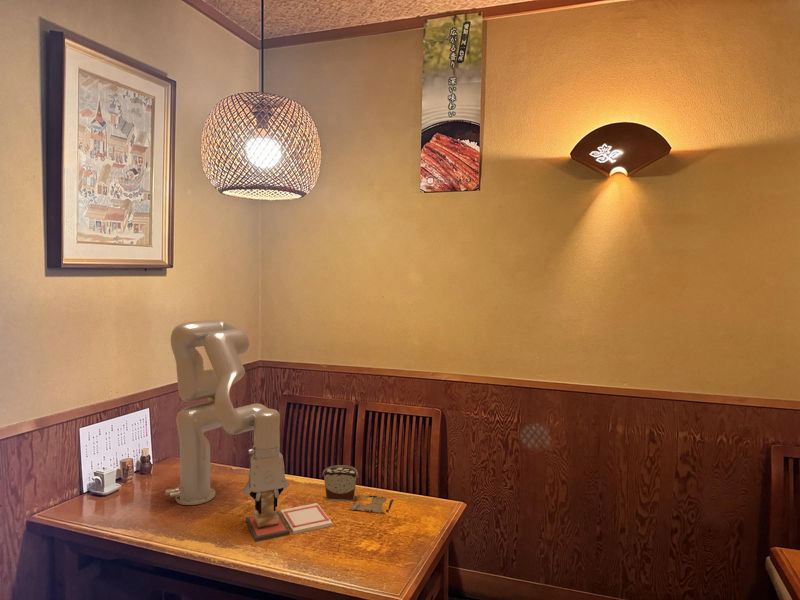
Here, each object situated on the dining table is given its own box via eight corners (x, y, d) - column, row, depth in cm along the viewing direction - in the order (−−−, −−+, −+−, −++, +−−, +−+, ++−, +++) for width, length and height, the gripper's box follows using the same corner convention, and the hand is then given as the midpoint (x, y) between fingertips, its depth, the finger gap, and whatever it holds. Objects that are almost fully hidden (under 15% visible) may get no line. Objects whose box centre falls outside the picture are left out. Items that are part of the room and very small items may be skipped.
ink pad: (255, 541, 153) (255, 537, 153) (245, 520, 166) (245, 517, 166) (289, 534, 158) (289, 530, 158) (278, 514, 170) (277, 510, 170)
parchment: (387, 515, 171) (387, 512, 171) (348, 511, 174) (348, 508, 174) (395, 499, 183) (395, 496, 183) (358, 495, 186) (358, 493, 186)
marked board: (293, 534, 158) (293, 530, 158) (280, 513, 171) (280, 509, 171) (332, 525, 163) (332, 522, 163) (316, 506, 177) (316, 502, 177)
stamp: (258, 528, 158) (258, 491, 157) (254, 519, 163) (254, 483, 163) (278, 524, 161) (278, 488, 160) (273, 515, 166) (274, 480, 165)
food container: (361, 493, 187) (361, 465, 186) (357, 501, 181) (358, 472, 180) (326, 491, 188) (326, 463, 187) (322, 499, 182) (322, 470, 181)
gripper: (240, 459, 153) (240, 521, 155) (297, 451, 161) (296, 510, 162) (235, 450, 160) (235, 510, 161) (290, 443, 168) (290, 500, 169)
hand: (266, 510), depth 162 cm, fingers closed on stamp, 3 cm apart
